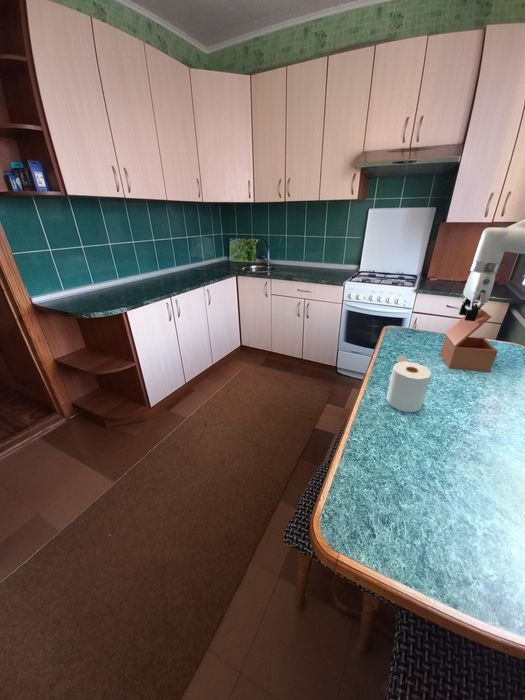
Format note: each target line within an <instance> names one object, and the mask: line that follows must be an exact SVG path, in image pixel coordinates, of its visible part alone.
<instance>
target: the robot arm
mask: <svg viewBox="0 0 525 700" xmlns="http://www.w3.org/2000/svg"><path fill="white" fill-rule="evenodd" d="M507 252H508V253H512V254H513V253H514V254H520V255H522V254H523V255H524V254H525V219H522V220H519V221H518V222H516V223H513V224H511V225H508V226H507V227H501V226H500V227H499V226H497V227H496V226H495V227H494V226H491V227H486V228H485V229H483V231H482V233H481V235H480V239H479V242H478V245H477V248H476V251H475V255H474V257H473V260H472V262H471V266H470V268H469V271H470V273H469V275H468V278H467V280H466V283H465V285H464V288H463V292H462V296H463V299H462V301H461V307H460V309H459V312H458V315H459V316H465V315H466V316H465V320H466V321H475V320H476V317H477V314H478V311H479V310H480V308H481V309H482V307H484V305H485V304H487V303H488V302H489V300H490V297H491V294H492V291H493V288H494V285H495V280H496V274H497V273H498V271H499V268H500V266H501V262H502V260H503V257H504V255H505V253H507ZM466 304H469V305H470V309H468V310H466V309H465V305H466Z"/></svg>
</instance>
